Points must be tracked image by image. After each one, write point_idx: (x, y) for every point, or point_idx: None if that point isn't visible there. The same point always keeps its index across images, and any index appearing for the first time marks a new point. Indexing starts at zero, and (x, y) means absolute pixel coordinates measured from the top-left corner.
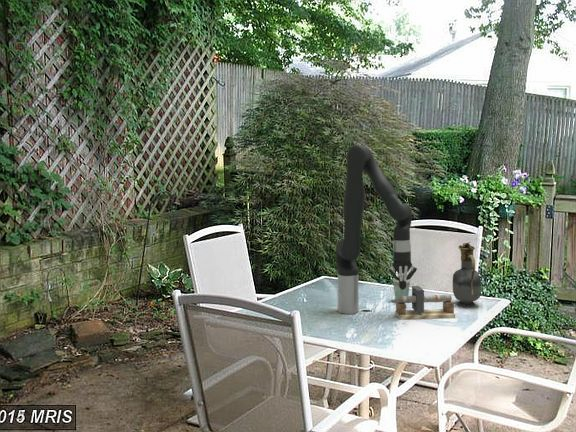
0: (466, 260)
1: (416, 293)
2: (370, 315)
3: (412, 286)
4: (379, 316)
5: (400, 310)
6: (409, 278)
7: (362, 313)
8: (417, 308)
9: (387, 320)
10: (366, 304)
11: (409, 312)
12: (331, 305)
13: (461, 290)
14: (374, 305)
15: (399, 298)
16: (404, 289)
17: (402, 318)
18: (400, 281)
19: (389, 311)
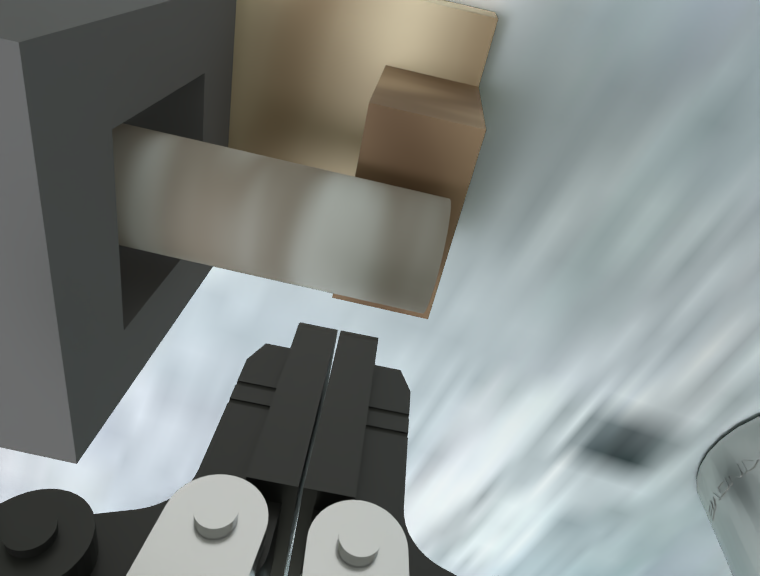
0: None
1: (83, 89)
2: (702, 301)
3: (72, 437)
4: (639, 236)
5: (459, 97)
6: (21, 518)
7: (723, 386)
8: None
9: (671, 33)
10: (505, 568)
11: (295, 156)
12: None
13: None
14: (460, 532)
15: (442, 228)
16: (304, 326)
17: (463, 5)
18: (375, 517)
19: (432, 359)
